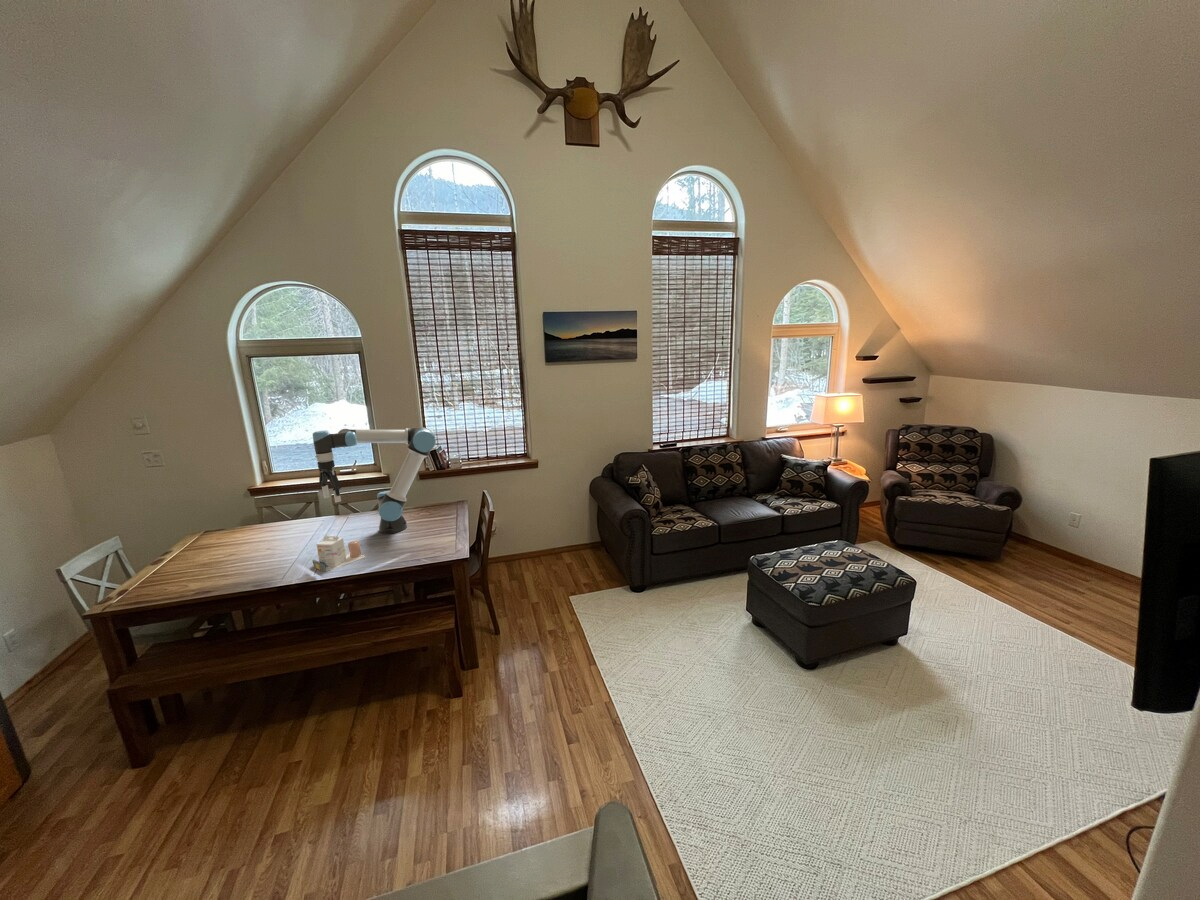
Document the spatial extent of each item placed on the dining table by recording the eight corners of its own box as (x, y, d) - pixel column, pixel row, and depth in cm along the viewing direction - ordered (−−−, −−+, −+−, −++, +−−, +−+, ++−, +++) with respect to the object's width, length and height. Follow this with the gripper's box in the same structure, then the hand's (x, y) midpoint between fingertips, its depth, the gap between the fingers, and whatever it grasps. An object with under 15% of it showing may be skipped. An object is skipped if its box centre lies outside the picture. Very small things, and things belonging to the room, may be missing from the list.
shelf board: (355, 554, 245) (354, 545, 244) (366, 559, 238) (365, 551, 237) (313, 569, 230) (311, 560, 229) (323, 575, 222) (322, 566, 222)
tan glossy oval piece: (358, 552, 243) (356, 540, 241) (363, 555, 240) (360, 542, 238) (348, 556, 239) (346, 543, 238) (353, 558, 236) (350, 545, 235)
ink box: (319, 566, 229) (314, 540, 226) (331, 559, 237) (326, 534, 234) (335, 567, 227) (330, 541, 224) (347, 559, 235) (342, 534, 233)
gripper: (307, 459, 250) (314, 498, 255) (328, 464, 235) (335, 505, 240) (322, 456, 256) (329, 494, 261) (343, 461, 241) (350, 501, 245)
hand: (332, 499), depth 250 cm, fingers open, 13 cm apart
